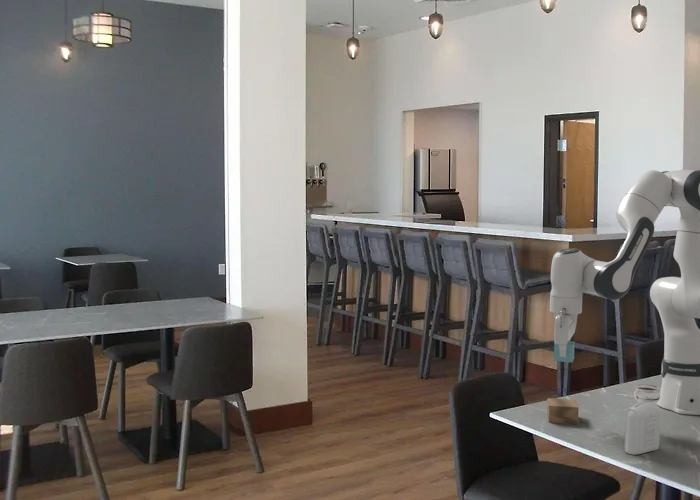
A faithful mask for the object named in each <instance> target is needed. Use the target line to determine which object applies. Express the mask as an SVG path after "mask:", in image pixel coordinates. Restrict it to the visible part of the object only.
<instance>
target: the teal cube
mask: <svg viewBox="0 0 700 500" xmlns="http://www.w3.org/2000/svg"><path fill="white" fill-rule="evenodd" d="M575 343H576V342H575V341H571V340H570V341H569V342H568V343H567V349H566V350H567V355H566V357H560V355H559V353H560V350H559V344H556V343H555V342H554V344H553V345H554V346H553V350H554V351H553V362H562V363H563V362H565V363H573V362H574V360H575Z"/></svg>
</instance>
